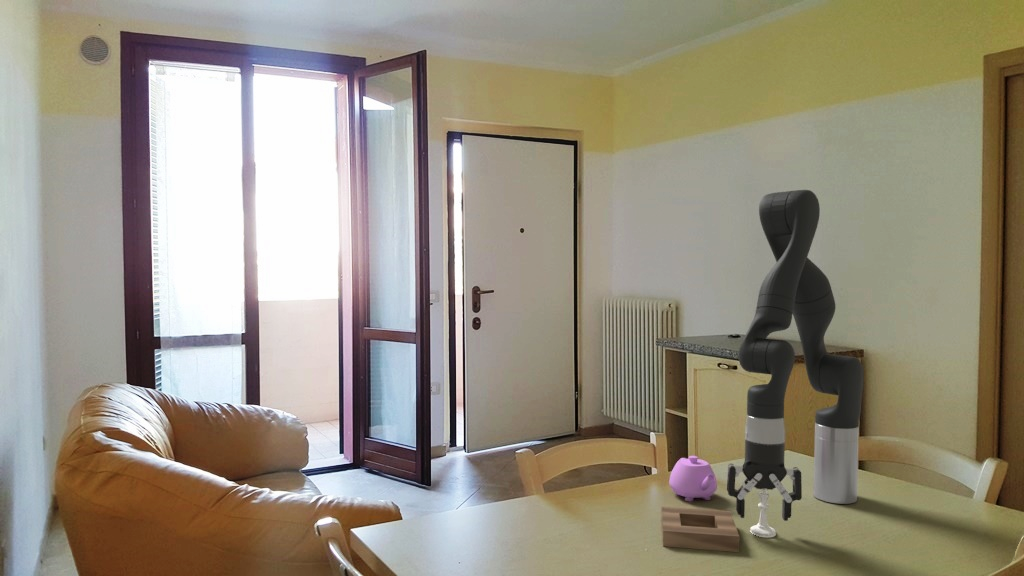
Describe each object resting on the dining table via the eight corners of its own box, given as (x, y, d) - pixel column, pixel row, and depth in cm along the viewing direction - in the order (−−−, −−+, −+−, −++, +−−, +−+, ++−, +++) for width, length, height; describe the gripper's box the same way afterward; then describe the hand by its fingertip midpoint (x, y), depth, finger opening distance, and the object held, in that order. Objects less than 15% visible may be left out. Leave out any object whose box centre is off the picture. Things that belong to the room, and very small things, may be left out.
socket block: (661, 520, 152) (661, 506, 151) (730, 525, 149) (730, 511, 149) (663, 546, 138) (663, 530, 138) (738, 552, 135) (739, 536, 135)
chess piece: (777, 538, 142) (778, 488, 142) (751, 536, 143) (752, 486, 143) (773, 529, 147) (774, 481, 147) (748, 527, 148) (749, 479, 148)
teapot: (698, 486, 175) (699, 448, 175) (732, 506, 161) (733, 465, 161) (659, 489, 173) (660, 450, 172) (690, 510, 158) (691, 468, 158)
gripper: (798, 435, 147) (796, 514, 147) (725, 431, 149) (724, 509, 150) (806, 444, 139) (804, 527, 140) (730, 440, 142) (728, 522, 143)
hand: (763, 518), depth 145 cm, fingers open, 8 cm apart
